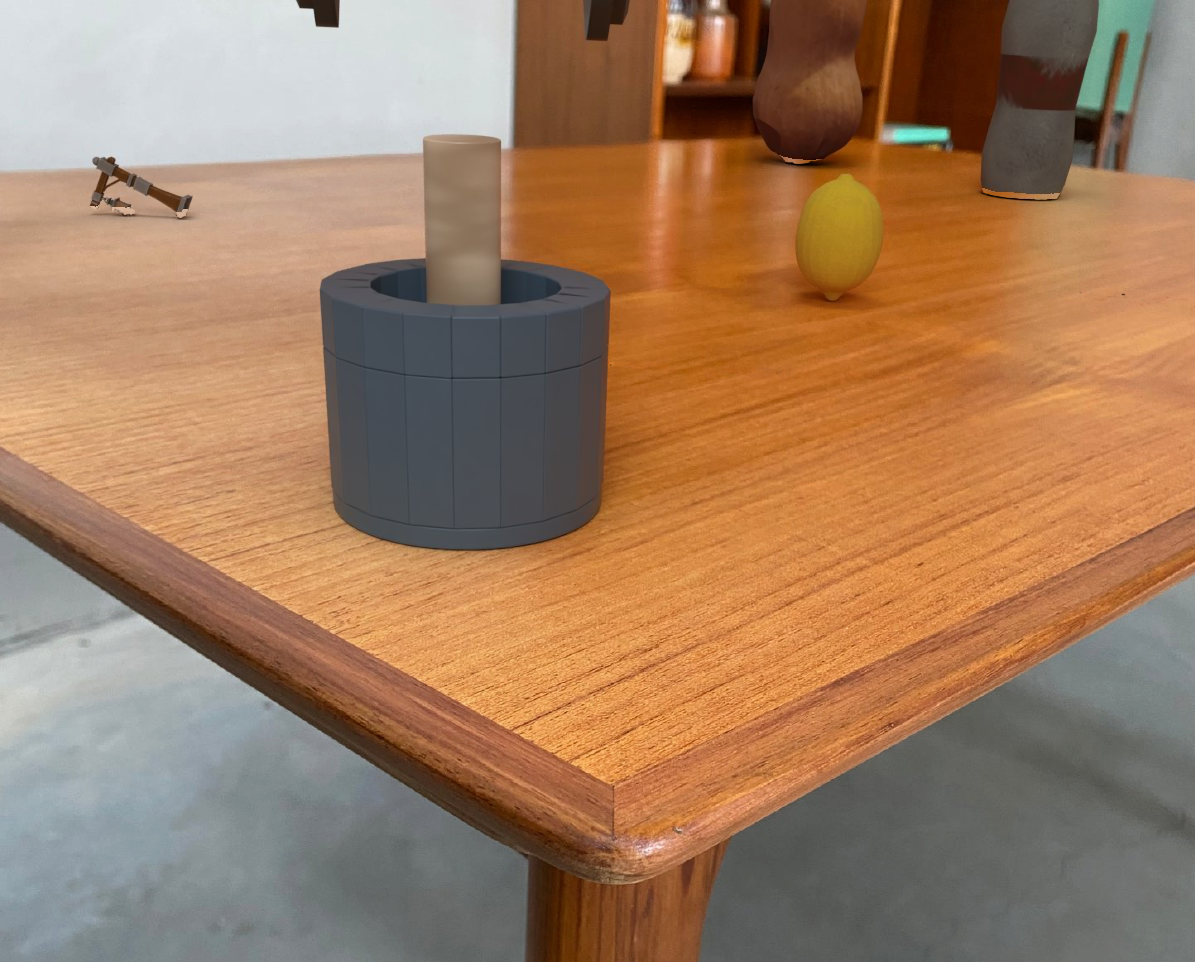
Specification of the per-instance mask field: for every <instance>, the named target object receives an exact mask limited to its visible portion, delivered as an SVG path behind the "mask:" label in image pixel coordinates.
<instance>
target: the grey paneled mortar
mask: <svg viewBox="0 0 1195 962" xmlns="http://www.w3.org/2000/svg"><path fill="white" fill-rule="evenodd" d="M611 295H612V291H611V289H610V287H609V286H608V285H607V284H606V283H605V281H604V280H603V279H601V278H598V277H597V276H594V275H591V274H588V273H586V272H583V271H581V270H576V269H572V268H567V267H564V266H563V267H562V266H558V265H554V264H549V263H548V264H547V263H540V262H534V261H533V262H532V261H525V260H517V259H515V260H514V259H503V258H501V304H499V305H449V304H435V303H427V295H426V257H421V258H405V259H393V260H386V261H385V260H384V261H378V262H377V261H376V262H370V263H365V264H361V265H357V266H352V267H349V268H345V269H341V270H336V271H334V272H333V273H331V274H329V275H327V276H326V277H324V278H321V281H320V286H319V305H320V319H321V321H320V322H321V335H322V336H321V337H322V346H323V347H322V353H323V369H324V384H325V386H324V387H325V403H326V404H325V405H326V418H327V419H326V420H327V433H328V436H327V437H328V451H329V452H328V453H329V466H330V467H329V469H330V485H331V489H332V503H333V506H334V509H335V511H336V513H337V514H338V516H339V517H340V518H341V519H342V520H343V521H344V522H346V523H347V524H348V525H350V526H351V527H353V528H355V529H356V530H359V531H360V532H362V533H365V534H367V535H370V536H372V537H375V538H378V539H380V540H386V541H390V542H393V543H397V544H402V545H408V546H412V547H419V548H430V549H439V550H440V549H441V550H457V551H458V550H459V551H460V550H461V551H463V550H465V551H473V550H494V549H496V550H497V549H504V548H505V549H507V548H512V547H521V546H526V545H532V544H536V543H541V542H545V541H548V540H552V539H556V538H559V537H561V536H564V535H567V534H569V533H571V532H573V531H576V530H577V529H579V528H581V527H583V526H584V525H586V524H587V523H589V522H590V521H591V520H592V519H593V518H594V517H595V516H596V514H597V513H598V512H599V509H600V508H601V503H602V487H603V486H602V485H603V483H604V473H605V471H604V470H605V449H606V448H605V445H606V444H605V443H606V421H607V394H608V372H609V369H608V368H609V344H610V324H611V323H610V322H611V321H610V320H611V319H610V318H611Z"/></svg>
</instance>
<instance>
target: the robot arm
mask: <svg viewBox="0 0 1195 962" xmlns="http://www.w3.org/2000/svg"><path fill="white" fill-rule="evenodd" d="M295 1H296V3H297V6H298V8H299V9H303V10H305V9H306V10H313V17H314V25H315V27H316V28H336V29H338V28H340V6H341V5H340V4H341V0H295ZM630 1H631V0H582V3H583V4H582V5H583V7H582V8H583V23H584V24H583V25H584V26H583V27H584V40H585V41H592V42H608V39H609V34H610V29H611V25H615V26H617V25H618V26H623V25H624V23H625V20H626V18H627V15H628V13H629V8H630V3H631V2H630Z"/></svg>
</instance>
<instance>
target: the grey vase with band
mask: <svg viewBox="0 0 1195 962" xmlns="http://www.w3.org/2000/svg"><path fill="white" fill-rule="evenodd" d="M1099 8H1100V0H1009V1H1008V4H1007V8H1006V11H1005V15H1004V19H1003V23H1002V27H1001V38H1000V39H1001V41H1000V42H1001V43H1000V57H999V69H998V78H997V79H998V80H997V89H996V101H995V103H996V104H995V107H994V110H993V112H992V113H993V114H992V116H991V120H990V123H989V127H988V130H987V133H986V137H985V139H984V140H985V141H984V144H983V147H982V151H981V160H980V163H981V164H980V186H981V189H982V188H985V189H988V190H991V191H995V192H1014V193H1026V194H1051V193H1052V194H1054V193H1060V192H1061V193H1062V192H1063V189H1064V187H1065V185H1066V182H1067V179H1068V176H1069V172H1070V169H1071V166H1072V162H1073V158H1074V157H1073V156H1074V143H1075V130H1076V129H1075V127H1076V126H1075V125H1076V109H1077V105H1078V100H1079V97H1080V94H1081V90H1082V85H1083V81H1084V78H1085V74H1086V71H1087V67H1088V63H1089V58H1090V55H1091V52H1092V49H1093V46H1094V42H1095V39H1096V35H1097V32H1098V23H1099V21H1098V20H1099V10H1100V9H1099Z"/></svg>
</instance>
